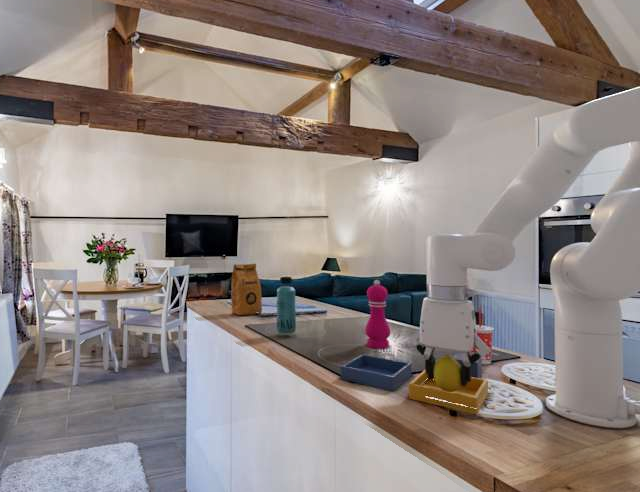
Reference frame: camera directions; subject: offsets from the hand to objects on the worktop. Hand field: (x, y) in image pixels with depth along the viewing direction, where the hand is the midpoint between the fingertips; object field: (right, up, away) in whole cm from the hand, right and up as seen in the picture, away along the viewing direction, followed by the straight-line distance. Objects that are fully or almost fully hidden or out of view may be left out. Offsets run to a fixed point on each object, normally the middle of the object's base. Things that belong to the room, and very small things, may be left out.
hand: (447, 379), depth 84 cm
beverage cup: (+20, -3, +22) cm, 30 cm away
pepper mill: (-1, -4, +39) cm, 39 cm away
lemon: (0, -3, 0) cm, 3 cm away
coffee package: (-40, -4, +92) cm, 101 cm away
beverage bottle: (-27, -4, +53) cm, 60 cm away
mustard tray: (0, -3, 0) cm, 3 cm away
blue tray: (-11, -4, +12) cm, 16 cm away
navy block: (+9, -3, +9) cm, 13 cm away
